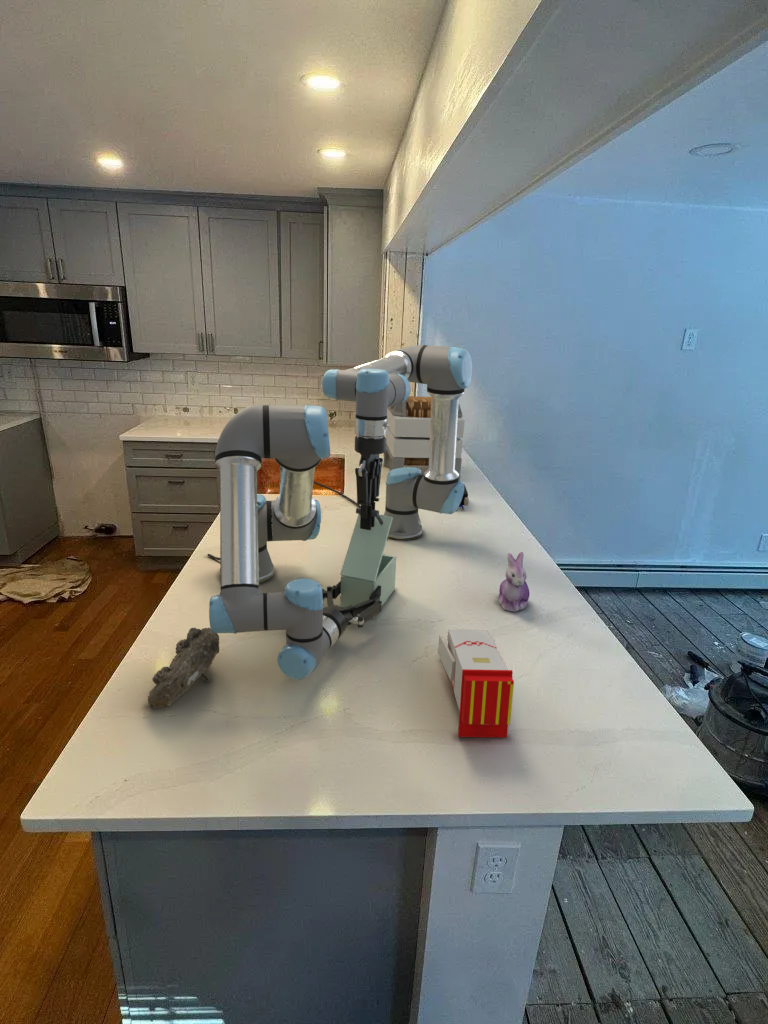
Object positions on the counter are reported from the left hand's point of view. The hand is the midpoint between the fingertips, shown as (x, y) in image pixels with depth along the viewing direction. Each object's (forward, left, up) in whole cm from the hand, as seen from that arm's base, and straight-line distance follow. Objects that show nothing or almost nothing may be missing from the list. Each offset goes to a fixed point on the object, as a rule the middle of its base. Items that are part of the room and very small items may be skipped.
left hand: (361, 586), depth 147 cm
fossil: (-22, -41, -7) cm, 47 cm away
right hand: (0, +2, +16) cm, 16 cm away
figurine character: (+5, +94, -7) cm, 95 cm away
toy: (+33, -23, -7) cm, 41 cm away
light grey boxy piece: (-23, +134, -7) cm, 136 cm away
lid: (0, +3, +10) cm, 11 cm away
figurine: (+37, +19, -7) cm, 42 cm away
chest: (0, +6, -7) cm, 9 cm away
